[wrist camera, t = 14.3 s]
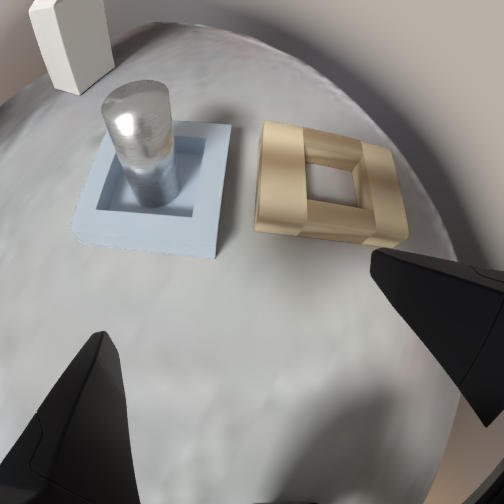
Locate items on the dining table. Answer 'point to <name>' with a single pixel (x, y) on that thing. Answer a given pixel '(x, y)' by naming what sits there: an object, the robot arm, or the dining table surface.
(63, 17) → the milk carton
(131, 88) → the steel axle
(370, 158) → the tan rectangular frame
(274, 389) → the dining table surface
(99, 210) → the seat block
